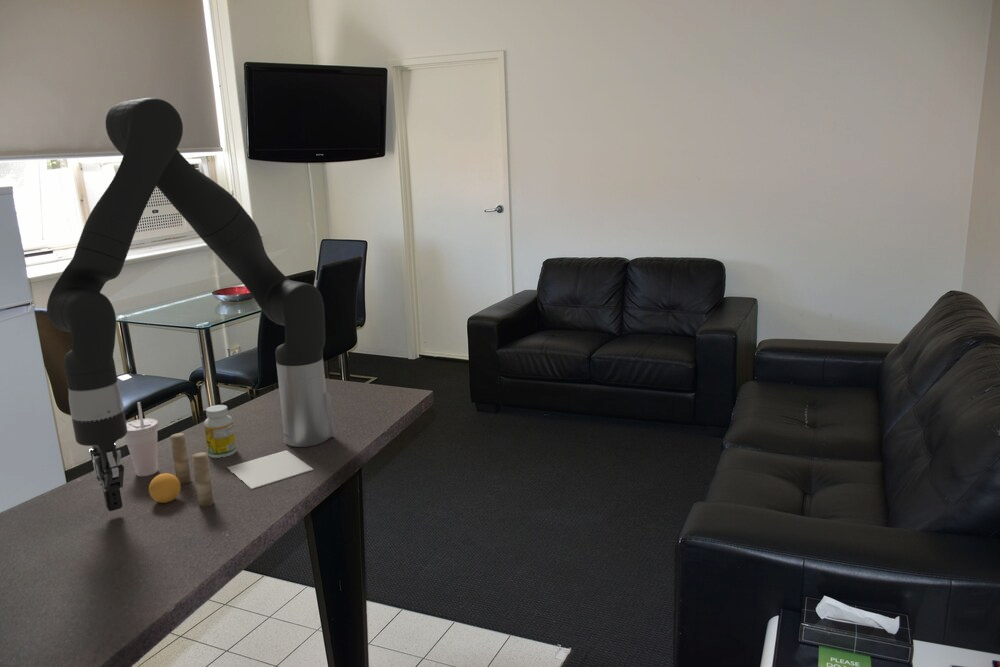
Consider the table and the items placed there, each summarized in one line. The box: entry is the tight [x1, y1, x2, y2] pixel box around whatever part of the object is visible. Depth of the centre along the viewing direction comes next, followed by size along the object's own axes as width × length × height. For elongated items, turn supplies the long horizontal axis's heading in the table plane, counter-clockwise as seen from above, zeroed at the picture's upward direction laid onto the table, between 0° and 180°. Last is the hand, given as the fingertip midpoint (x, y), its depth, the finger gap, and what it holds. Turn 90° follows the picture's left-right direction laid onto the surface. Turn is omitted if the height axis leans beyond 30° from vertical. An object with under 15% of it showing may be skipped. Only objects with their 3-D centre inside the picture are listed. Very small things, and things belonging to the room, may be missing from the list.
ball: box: [148, 472, 182, 504], centre depth 130 cm, size 5×5×5 cm
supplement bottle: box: [203, 404, 237, 459], centre depth 149 cm, size 5×5×10 cm
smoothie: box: [124, 401, 160, 477], centre depth 141 cm, size 6×6×14 cm
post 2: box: [191, 451, 215, 508], centre depth 128 cm, size 2×2×9 cm
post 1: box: [169, 432, 192, 485], centre depth 137 cm, size 2×2×9 cm
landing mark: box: [226, 450, 314, 490], centre depth 142 cm, size 12×12×1 cm
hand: (114, 508), depth 125 cm, fingers closed
